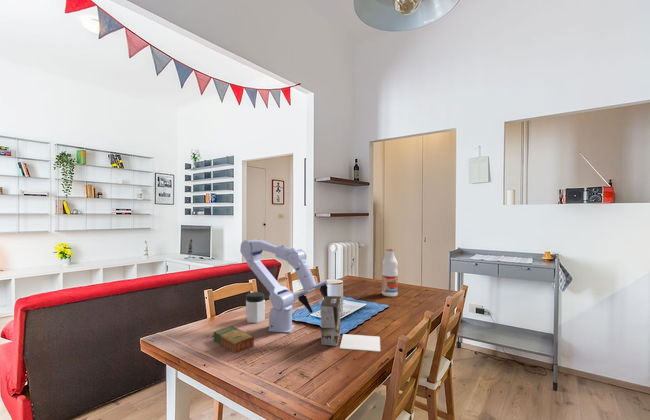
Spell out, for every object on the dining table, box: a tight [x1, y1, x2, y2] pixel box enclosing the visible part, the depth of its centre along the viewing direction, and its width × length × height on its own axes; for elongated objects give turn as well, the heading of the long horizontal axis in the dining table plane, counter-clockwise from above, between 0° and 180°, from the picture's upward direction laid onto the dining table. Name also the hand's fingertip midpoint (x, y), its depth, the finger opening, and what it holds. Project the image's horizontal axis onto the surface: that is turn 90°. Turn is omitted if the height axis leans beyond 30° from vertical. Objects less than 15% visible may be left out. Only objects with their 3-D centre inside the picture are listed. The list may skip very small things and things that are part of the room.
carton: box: [213, 325, 255, 354], centre depth 121 cm, size 8×16×4 cm, turn 47°
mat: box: [339, 333, 381, 353], centre depth 123 cm, size 15×13×1 cm
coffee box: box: [320, 295, 341, 347], centre depth 123 cm, size 9×6×16 cm
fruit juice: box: [381, 247, 399, 297], centre depth 191 cm, size 9×9×28 cm
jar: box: [245, 291, 266, 324], centre depth 146 cm, size 9×8×12 cm
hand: (319, 308), depth 127 cm, fingers open, 7 cm apart
